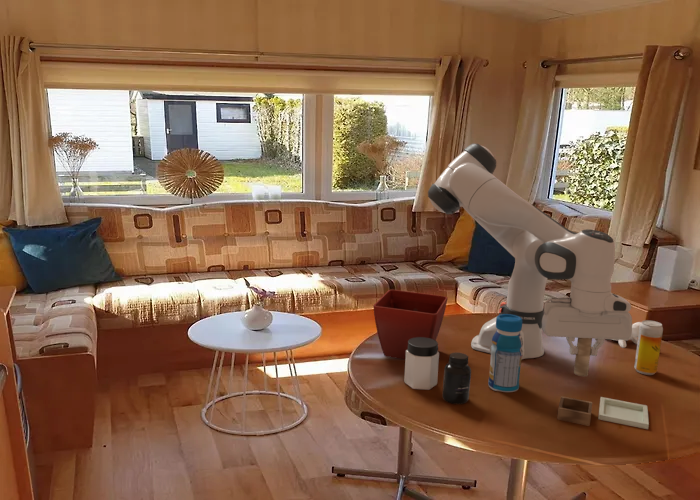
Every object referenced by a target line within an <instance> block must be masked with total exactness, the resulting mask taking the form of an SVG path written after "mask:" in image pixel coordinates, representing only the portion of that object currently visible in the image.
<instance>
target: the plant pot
mask: <svg viewBox="0 0 700 500" xmlns="http://www.w3.org/2000/svg"><path fill="white" fill-rule="evenodd" d="M382 295H383V296H381V297H380V298H379V299H378V300H377V301H376V302H375V303H374V304H373V315H374V322H375V327H376V333H377V336H378V341H379V344H380V347H381V351H382V353H383V356H385V357H387V358H393V359H400V360H405V358H406V350H408V340H409V339H411V338H415V337H426V338H431V339H433V340H435V341H437V338H438V335H439V332H440V331H441V327H442V323H443V319H444V316H445V312H446V308H447V303H448V300H449V299H448V297H447V296H444V295H437V294H430V293H423V292H422V293H421V292H415V291H406V290H399V289H388V290H387V291H386V292H385V293H384V294H382Z"/></svg>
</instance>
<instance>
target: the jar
mask: <svg viewBox="0 0 700 500" xmlns="http://www.w3.org/2000/svg"><path fill="white" fill-rule="evenodd" d="M439 358H440V352H439V342H438V341H437V340H436V341H435V340H433V339H431V338H426V337H415V338H411V339H409V340H408V350H406V358H405V359H404V360H405V363H404V377H403V378H404V379H403V380H404V381H403V382H404V383H405V384H406V385H408V386H409V387H410V388H411V389H413V390H426V391H429V390H431V389H433V387H435V386H437V384H438V375H439V373H438V372H439V363H440V362H439V360H440V359H439Z"/></svg>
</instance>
